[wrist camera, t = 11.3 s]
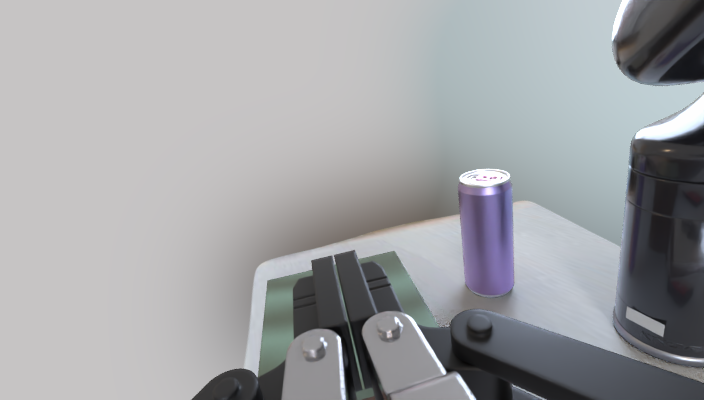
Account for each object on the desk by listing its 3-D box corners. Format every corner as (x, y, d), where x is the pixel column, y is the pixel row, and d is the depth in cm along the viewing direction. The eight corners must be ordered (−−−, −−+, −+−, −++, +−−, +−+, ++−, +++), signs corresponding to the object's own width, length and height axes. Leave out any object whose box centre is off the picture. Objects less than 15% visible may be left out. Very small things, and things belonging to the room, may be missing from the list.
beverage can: (508, 304, 45) (505, 186, 39) (459, 294, 48) (450, 184, 43) (518, 277, 49) (516, 168, 44) (472, 269, 52) (466, 167, 47)
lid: (269, 286, 39) (267, 280, 38) (395, 257, 40) (394, 250, 40) (256, 428, 23) (253, 418, 23) (461, 372, 25) (461, 363, 24)
